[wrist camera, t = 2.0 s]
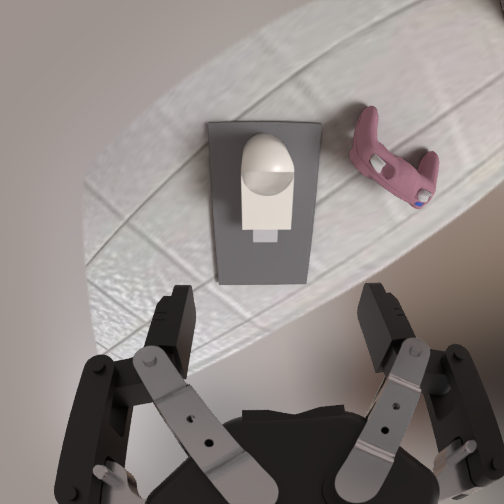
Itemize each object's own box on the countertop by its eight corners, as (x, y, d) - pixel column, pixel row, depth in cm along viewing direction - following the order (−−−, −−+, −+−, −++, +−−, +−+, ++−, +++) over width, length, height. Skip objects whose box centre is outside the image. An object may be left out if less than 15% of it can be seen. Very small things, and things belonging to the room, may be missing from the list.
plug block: (242, 133, 26) (240, 146, 21) (287, 133, 26) (295, 146, 21) (243, 225, 31) (242, 253, 27) (283, 225, 31) (289, 253, 27)
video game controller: (340, 129, 27) (341, 177, 24) (367, 98, 24) (376, 142, 20) (411, 176, 30) (421, 225, 26) (439, 152, 26) (456, 201, 22)
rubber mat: (208, 122, 25) (207, 123, 25) (320, 123, 26) (321, 124, 25) (219, 282, 35) (219, 284, 35) (305, 281, 35) (306, 284, 35)
